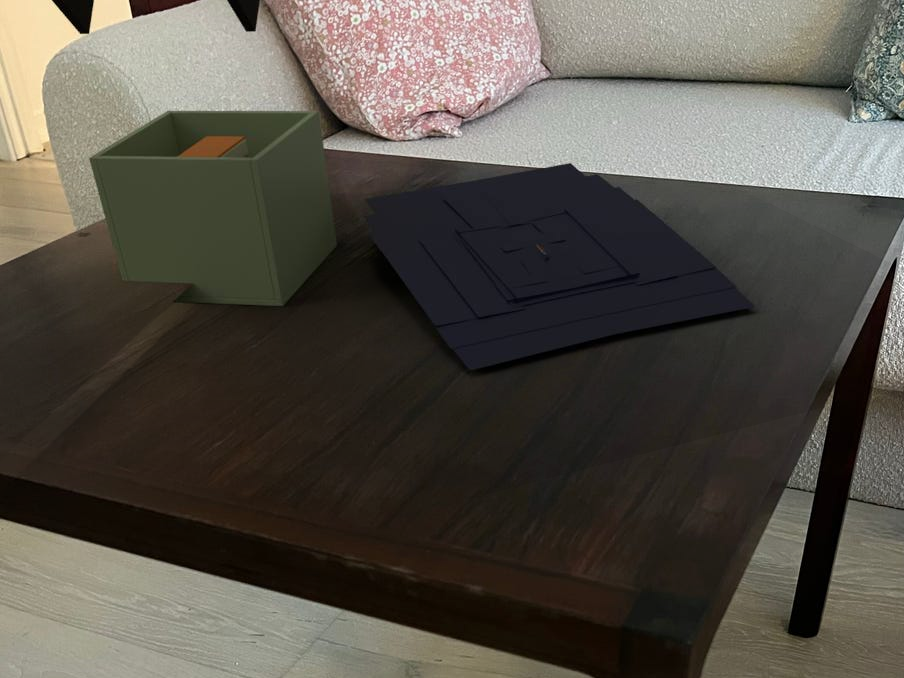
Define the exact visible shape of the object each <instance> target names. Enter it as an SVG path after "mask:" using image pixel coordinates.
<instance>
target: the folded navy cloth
mask: <svg viewBox="0 0 904 678" xmlns="http://www.w3.org/2000/svg"><path fill="white" fill-rule="evenodd" d="M364 200H365V202H366V203H367V204H368V205H369V207H370V209H371V210H372V212H373V214H367V215H362V218H363V219H364V221H365V222H366V224H367V225H368V227H369V228H370V229H371V231H372V232H368V234H369V236H370V237H371V238H372V240H373V242H374V243H375V245H376V246H377V248H378V249H379V251H380V253H382V254H383V255H384V257H385V258H386V260H387V262H389V263H390V265H391V267H392V268H393V269H394V271H395V272H396V273H397V275H398V276H399V277H400V279H401V281H402V282H403V283H404V284H405V286H406V287H407V289H408V290H409V291H410V293H411V295H412V296H413V297H414V298H415V300H416V301H417V303H418V304H419V305H420V307H421V308H422V310H423V311H424V312H425V314H426V315H427V316H428V318H429V320H430V321H431V322H432V325H433V326H434V328H435V329H436V331H437V332H438V333H439V335H440V336H441V338H442V339H443V340H444V342H445V343H446V345H447V346H448V348H449V349H450V350H451V349H452V351H453V352H454V353H455V354H456V355H457V356H458V358H459V359H460V361H462V362H463V364H464V365H465V367H466V368H467V369H468V370H469V371H474V370H478V369H482V368H486V367H490V366H494V365H497V364H502V363H506V362H509V361H514V360H518V359H522V358H526V357H530V356H533V355H534V356H535V355H537V354H542V353H546V352H550V351H554V350H557V349H562V348H566V347H570V346H574V345H578V344H582V343H586V342H589V341H593V340H598V339H601V338H605V337H609V336H613V335H617V334H623V333H628V332H633V331H639V330H643V329H649V328H653V327H654V328H655V327H659V326H663V325H669V324H674V323H679V322H685V321H689V320H694V319H695V320H696V319H700V318H705V317H710V316H715V315H721V314H726V313H732V312H735V311H740V310H747V309H751V308H756V306H755V305H754V303H752V302H751V301H750V300H749V298H747V297H746V296H745V295H744V294H743V293H742V292H741V291H740V290H739V289H737V286H736V285H735V284H734V282H732V281H731V280H730V279H729V278H728V277H727V276H726V275H725V274H724V273H723V272H722V271H721V270H719V269H718V268H717V266H716V265H715V264H714V263H713V262H712V261H710V260H709V259H708V258H707V257H705V255H703V254H702V253H701V252H700V251H698V250H697V249H696V248H695V247H694V246H693V245H691V244H690V243H689V242H688V241H687V240H686V239H685V238H683V237H682V236H681V235H680V234H678V233H677V232H676V231H675V230H674V229H673V228H671V227H670V226H669V225H668V224H667V223H666V222H664V221H663V220H662V219H661V218H660V217H658V216H657V215H656V214H655V213H654V212H653V211H652V210H650V209H649V207H647V206H645V205H644V204H643V203H642V202H641V201H640V200H638V198H636V199H634V198H633V197H632V196H630V195H629V194H628V192H626V191H625V190H624V189H622V188H621V187H620V186H617V187H614V185H612V184H611V183H610V182H608V181H607V180H606V179H604V177H602V176H601V175H599V174H598V173H596V174H591V175H590V174H589V175H585V174H584V173H582V172H581V171H580V170H579V169H578V168H577V167H576V166H575V165H573V164H572V163H571V162H568V163H563V164H557V165H552V166H547V167H541V168H535V169H531V170H525V171H518V172H513V173H508V174H503V175H496V176H492V177H486V178H480V179H475V180H469V181H463V182H457V183H452V184H451V183H450V184H445V185H440V186H433V187H426V188H421V189H415V190H410V191H404V192H397V193H392V194H391V193H390V194H386V195H379V196H374V197H367V198H364Z"/></svg>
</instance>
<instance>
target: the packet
mask: <svg viewBox="0 0 904 678" xmlns="http://www.w3.org/2000/svg"><path fill="white" fill-rule="evenodd" d="M177 157H239V158H248V149H247V143H246V139H245V137H242V136H207V137H205V138H204V139H202V140H201V141H199V142H198V143H196V144H195V145H194V146H192V147H191V148H189V149H188V150H186V151H185V152H183V153H182V154H180V155H179V156H177Z"/></svg>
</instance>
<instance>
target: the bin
mask: <svg viewBox="0 0 904 678" xmlns="http://www.w3.org/2000/svg"><path fill="white" fill-rule="evenodd" d="M322 134H323V133H322V126H321V119H320V111H318V110H166V111H165V112H163V113H162V114H160V115H158V116H156V117H155V118H153V119H152V120H150V121H149V122H147V123H145V124H143V125H141V126H139V127H138V128H137V129H135V130H133V131H132V132H130V133H128V134H127V135H124V136H123V137H121V138H120V139H118V140H117V141H115V142H113V143H112V144H110V145H108V146H107V147H104V148H103V149H101V150H100V151H98V152H97V153H95V154H93V155H91V156H90V157H89V158H88V159H89V164H90V167H91V170H92V175H93V178H94V181H95V185H96V189H97V192H98V196H99V200H100V203H101V208H102V210H103V214H104V218H105V222H106V225H107V229H108V232H109V237H110V240H111V243H112V244H111V245H112V247H113V251H114V254H115V258H116V262H117V265H118V269H119V272H120V276H121V280H122V281H123V282H142V283H143V282H144V283H145V282H146V283H170V284H171V283H173V284H174V283H175V284H190V285H189V286H188V287H187V288H186V289H185V290H184V291H183V292H182V293H181V294H180V295H179V296H177V297H176V298H175V299H174V300H173V301H172V302H173V303H193V304H194V303H195V304H198V303H199V304H216V305H217V304H221V305H240V306H241V305H243V306H246V305H247V306H264V307H265V306H267V307H284V306H285V305H286V303H287V302H288V301H289V300H290V299H291V298H292V296H294V295H295V293H296V292H297V291H298V290H299V289H300V288H301V286H303V284H305V282H306V281H307V280H308V279H309V277H311V275H312V274H313V273H314V272H315V271H316V270H317V268H319V266H321V264H322V263H323V262H324V261H325V260H326V259H327V257H328V256H329V255H330V254H331V253H332V252H333V251H334V250H335V248H337V246H338V242H337V241H338V240H337V235H336V228H335V227H336V226H335V219H334V214H333V213H334V212H333V206H332V199H331V197H332V196H331V191H330V184H329V176H328V169H327V161H326V154H325V147H324V141H323V135H322ZM207 136H242V137H245V139H246V143H247V149H248V158H239V157H177V156H179V155H180V154H182V153H183V152H185V151H186V150H188V149H189V148H191V147H192V146H194V145H195V144H196V143H198V142H199V141H201V140H202V139H204V138H205V137H207Z"/></svg>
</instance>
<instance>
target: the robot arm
mask: <svg viewBox="0 0 904 678" xmlns="http://www.w3.org/2000/svg"><path fill="white" fill-rule="evenodd" d="M51 1H52V3H53V4H54V5H55V6H56V8H58V10H59V11H60V12H61V13H62V14H63V16H64V17H65V18H66V19H67V20H68V22H69V23H70V24H71V26H73V28H74V29H75V30H76V31H77V32H78V33H79V34H80V35H90V31H91V24H92V16H93V11H94V3H95V0H51ZM226 1H227V3H228V5H229V6H230V7H231V10H232V11H233V12H234V15H235V16H236V18H237V19H238V22H240V24H241V26H242V28H243V29H244V31H245V32H246V33H247V32H249V33H251V32H252V33H254V32H256V31H257V25H258V17H259V16H258V15H259V9H260V2H261V0H226Z"/></svg>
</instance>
